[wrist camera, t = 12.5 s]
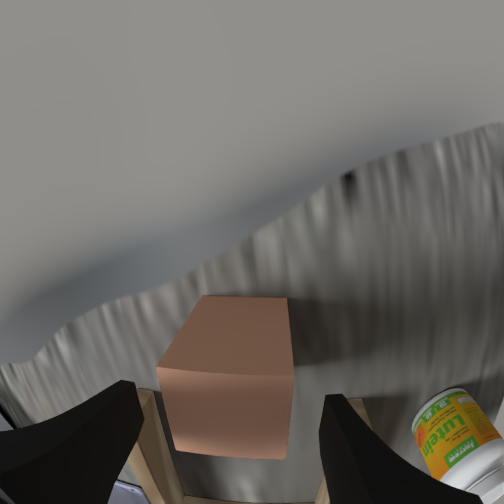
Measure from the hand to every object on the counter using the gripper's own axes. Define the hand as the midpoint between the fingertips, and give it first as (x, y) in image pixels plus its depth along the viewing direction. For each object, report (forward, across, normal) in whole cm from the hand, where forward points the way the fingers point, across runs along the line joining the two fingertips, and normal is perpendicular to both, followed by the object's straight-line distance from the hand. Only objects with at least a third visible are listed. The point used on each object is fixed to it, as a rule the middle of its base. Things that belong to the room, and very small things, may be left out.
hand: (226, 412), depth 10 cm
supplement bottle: (+7, -15, +8) cm, 18 cm away
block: (+6, 0, 0) cm, 7 cm away
